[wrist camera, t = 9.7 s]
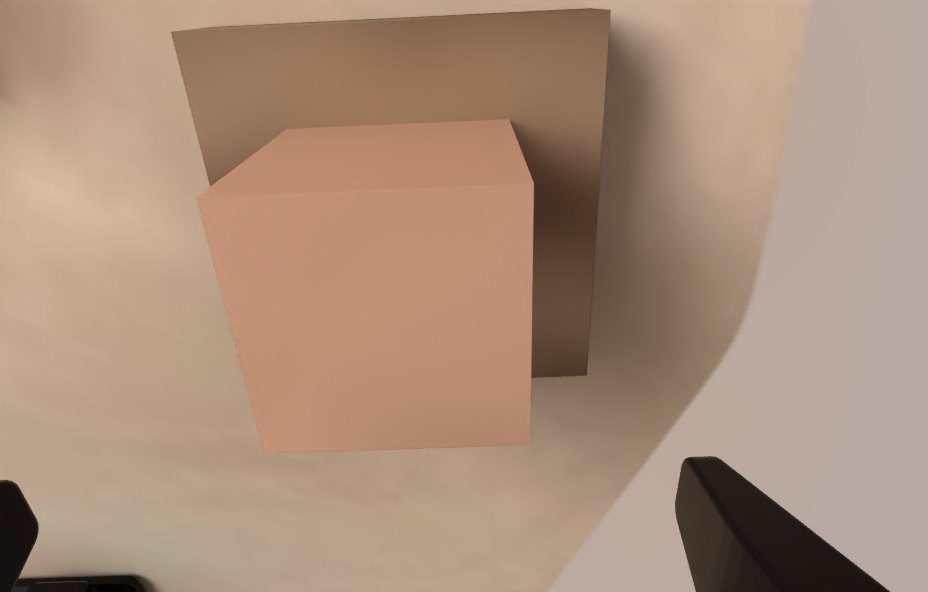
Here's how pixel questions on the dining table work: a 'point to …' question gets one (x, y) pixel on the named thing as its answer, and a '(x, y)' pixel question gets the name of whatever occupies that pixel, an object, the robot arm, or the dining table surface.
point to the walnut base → (433, 117)
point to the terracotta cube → (380, 285)
